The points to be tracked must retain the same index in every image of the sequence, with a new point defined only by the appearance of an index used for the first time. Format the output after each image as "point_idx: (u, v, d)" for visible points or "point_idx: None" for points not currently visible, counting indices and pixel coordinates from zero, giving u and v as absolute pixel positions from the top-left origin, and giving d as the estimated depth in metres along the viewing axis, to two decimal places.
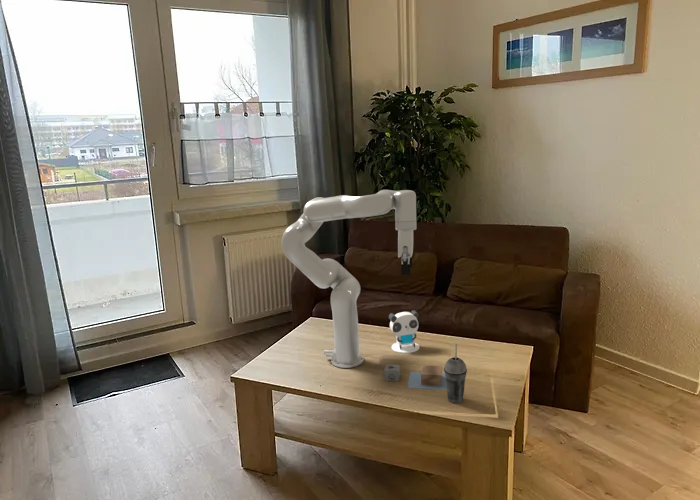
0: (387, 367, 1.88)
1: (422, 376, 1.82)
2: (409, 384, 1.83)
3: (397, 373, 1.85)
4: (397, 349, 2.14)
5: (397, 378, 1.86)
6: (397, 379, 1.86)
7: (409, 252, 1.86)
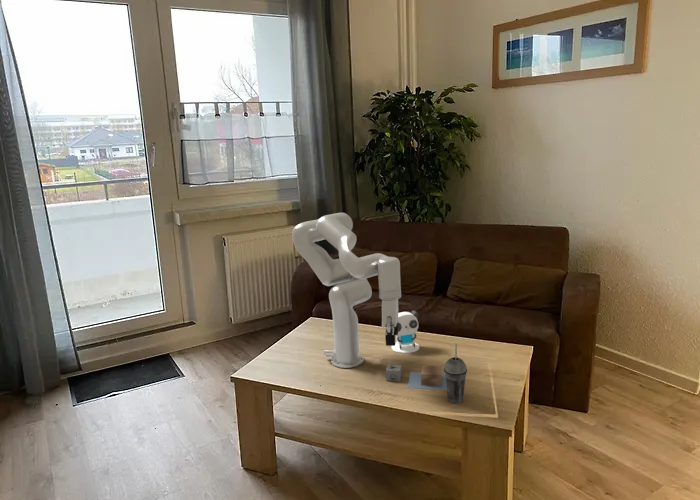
0: (388, 367, 1.88)
1: (422, 376, 1.82)
2: (409, 384, 1.83)
3: (399, 373, 1.85)
4: (397, 349, 2.14)
5: (399, 378, 1.86)
6: (399, 379, 1.86)
7: (393, 322, 1.79)
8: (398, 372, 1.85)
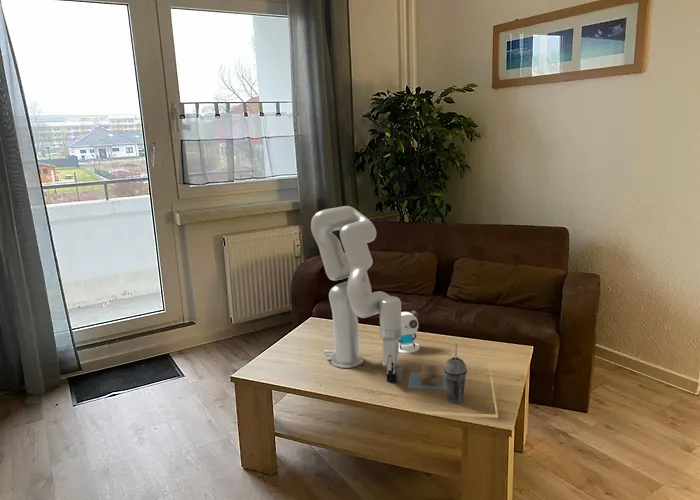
0: None
1: (422, 376, 1.82)
2: (409, 384, 1.83)
3: (400, 373, 1.85)
4: None
5: (400, 378, 1.86)
6: (400, 379, 1.86)
7: (394, 361, 1.82)
8: (400, 372, 1.85)
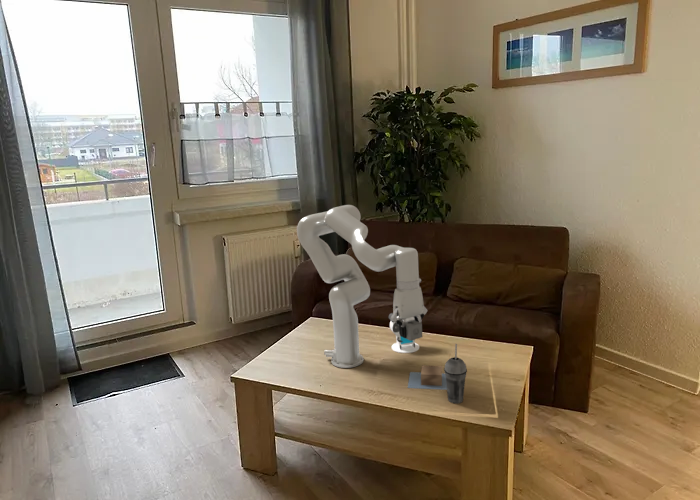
0: (408, 321, 1.82)
1: (422, 376, 1.82)
2: (409, 384, 1.83)
3: (409, 329, 1.78)
4: (397, 349, 2.14)
5: (409, 334, 1.79)
6: (409, 335, 1.79)
7: (399, 313, 1.78)
8: (408, 327, 1.78)
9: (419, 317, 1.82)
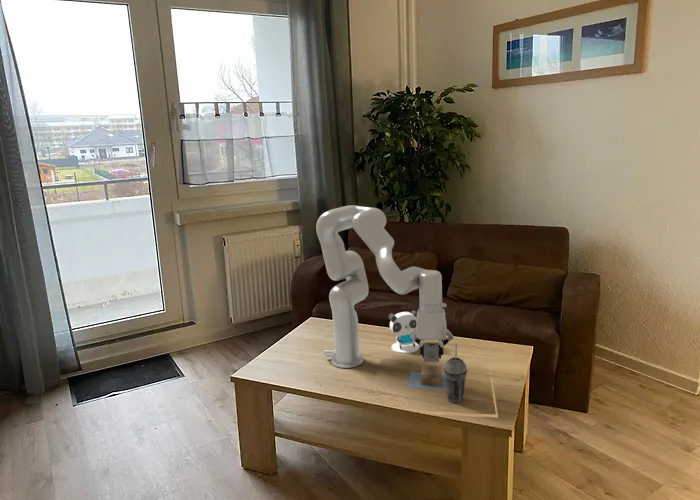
0: (431, 343, 1.83)
1: (422, 376, 1.82)
2: (409, 384, 1.83)
3: None
4: (397, 349, 2.14)
5: None
6: None
7: (416, 332, 1.81)
8: None
9: (441, 342, 1.80)
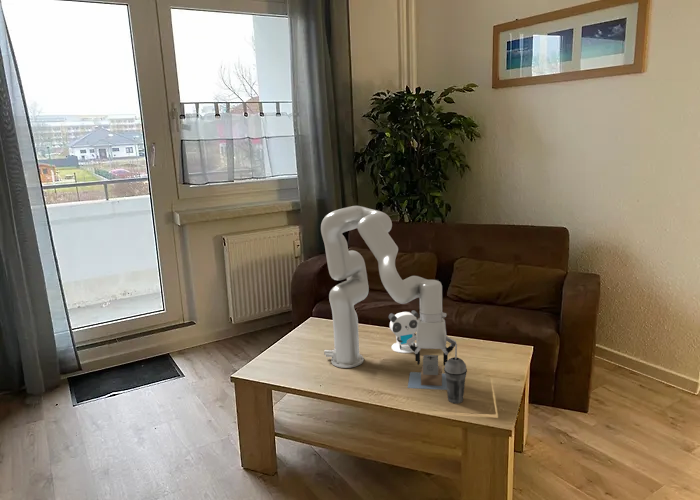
0: (430, 356, 1.84)
1: (422, 376, 1.82)
2: (409, 384, 1.83)
3: (423, 363, 1.81)
4: (397, 349, 2.14)
5: (423, 368, 1.81)
6: (423, 369, 1.81)
7: (416, 341, 1.81)
8: (423, 361, 1.81)
9: (444, 349, 1.80)
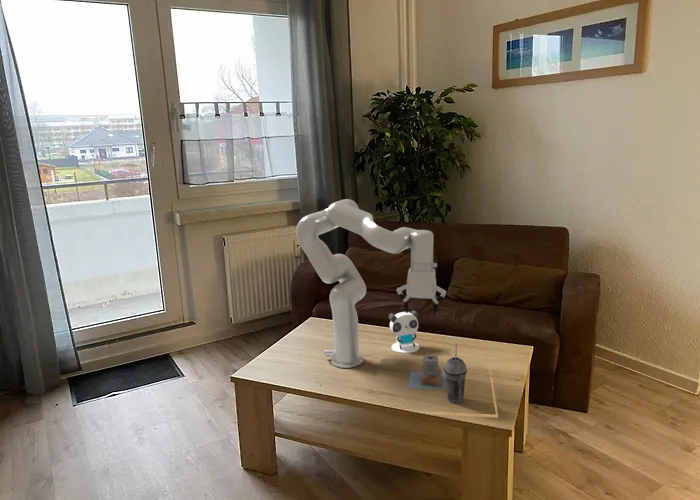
0: (430, 356, 1.84)
1: (422, 376, 1.82)
2: (409, 384, 1.83)
3: (423, 363, 1.81)
4: (397, 349, 2.14)
5: (423, 368, 1.81)
6: (423, 369, 1.81)
7: (406, 291, 1.85)
8: (423, 361, 1.81)
9: (434, 299, 1.83)
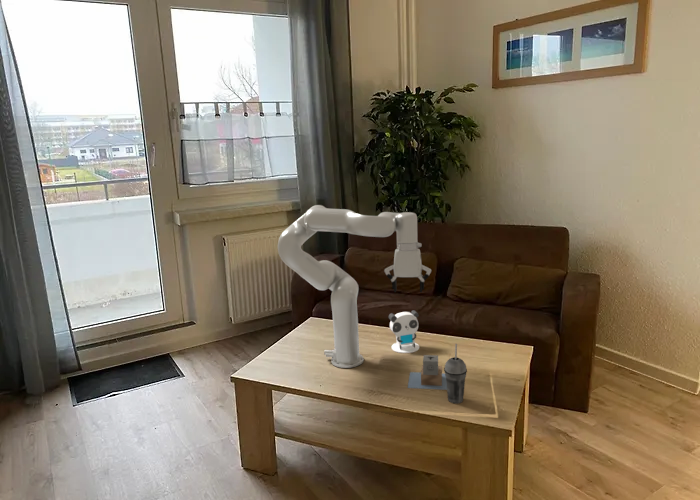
0: (430, 356, 1.84)
1: (422, 376, 1.82)
2: (409, 384, 1.83)
3: (423, 363, 1.81)
4: (397, 349, 2.14)
5: (423, 368, 1.81)
6: (423, 369, 1.81)
7: None
8: (423, 361, 1.81)
9: (420, 277, 1.94)
